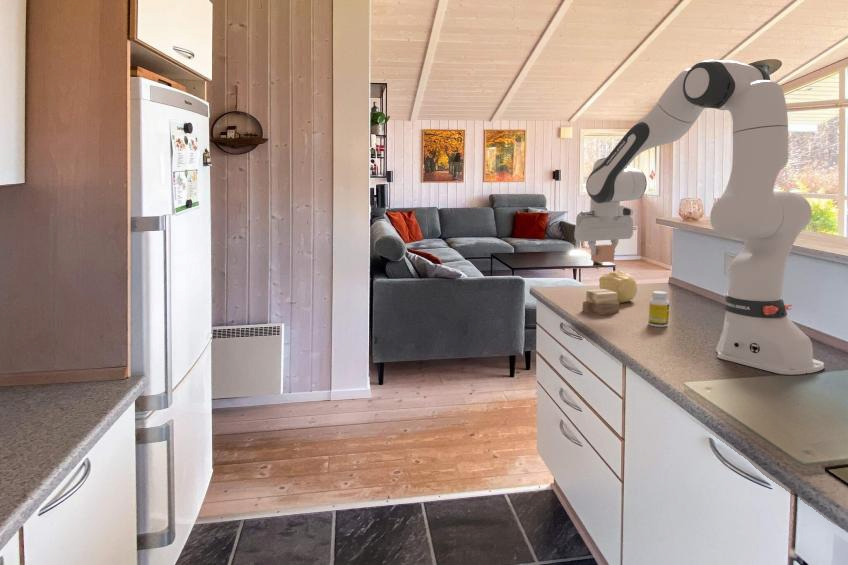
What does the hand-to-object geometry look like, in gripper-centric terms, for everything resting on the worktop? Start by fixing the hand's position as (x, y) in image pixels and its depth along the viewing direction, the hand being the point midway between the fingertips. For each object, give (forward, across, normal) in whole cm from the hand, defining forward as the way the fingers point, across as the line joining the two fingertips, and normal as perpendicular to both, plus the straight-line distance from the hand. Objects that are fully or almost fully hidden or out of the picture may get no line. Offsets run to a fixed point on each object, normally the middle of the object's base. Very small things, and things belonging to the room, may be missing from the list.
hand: (602, 254), depth 182 cm
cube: (+2, 0, 0) cm, 2 cm away
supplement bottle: (+19, +4, -21) cm, 29 cm away
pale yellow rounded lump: (+19, +16, +11) cm, 27 cm away
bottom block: (+19, 0, 0) cm, 19 cm away
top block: (+16, 0, 0) cm, 16 cm away
